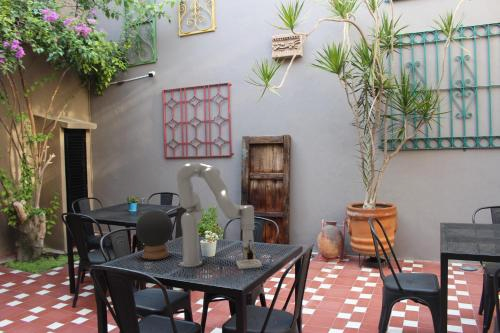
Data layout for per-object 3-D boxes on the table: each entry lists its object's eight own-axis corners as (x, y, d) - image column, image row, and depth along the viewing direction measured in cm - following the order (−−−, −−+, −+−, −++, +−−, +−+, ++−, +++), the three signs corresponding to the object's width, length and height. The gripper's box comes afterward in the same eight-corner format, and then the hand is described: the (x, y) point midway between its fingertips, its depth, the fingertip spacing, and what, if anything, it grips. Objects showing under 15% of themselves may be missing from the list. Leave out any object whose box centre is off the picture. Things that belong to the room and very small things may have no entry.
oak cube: (243, 258, 258) (242, 247, 257) (253, 257, 259) (252, 246, 258) (245, 260, 252) (244, 249, 251) (255, 259, 253) (254, 249, 253)
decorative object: (158, 263, 267) (156, 213, 265) (128, 259, 277) (127, 212, 276) (181, 254, 287) (179, 208, 286) (153, 251, 298) (151, 207, 297)
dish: (236, 264, 259) (236, 261, 259) (258, 262, 262) (257, 259, 261) (239, 268, 249) (239, 265, 249) (261, 267, 252) (261, 263, 252)
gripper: (238, 224, 262) (240, 255, 263) (244, 229, 245) (245, 262, 246) (251, 224, 264) (252, 254, 264) (257, 228, 247) (258, 261, 247)
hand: (249, 257), depth 255 cm, fingers closed on oak cube, 6 cm apart
